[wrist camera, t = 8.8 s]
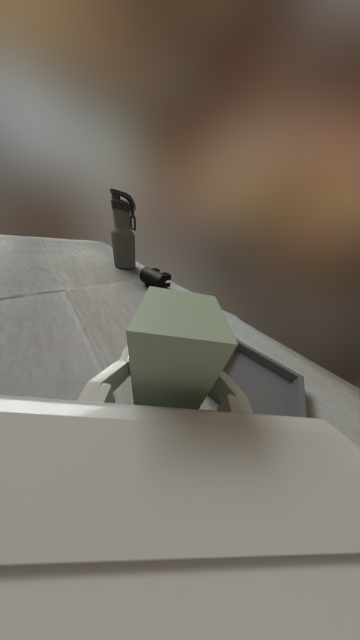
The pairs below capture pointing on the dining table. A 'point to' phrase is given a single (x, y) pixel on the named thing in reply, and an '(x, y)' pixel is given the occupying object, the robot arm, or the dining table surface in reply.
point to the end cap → (154, 278)
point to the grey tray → (265, 383)
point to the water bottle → (123, 230)
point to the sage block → (177, 348)
